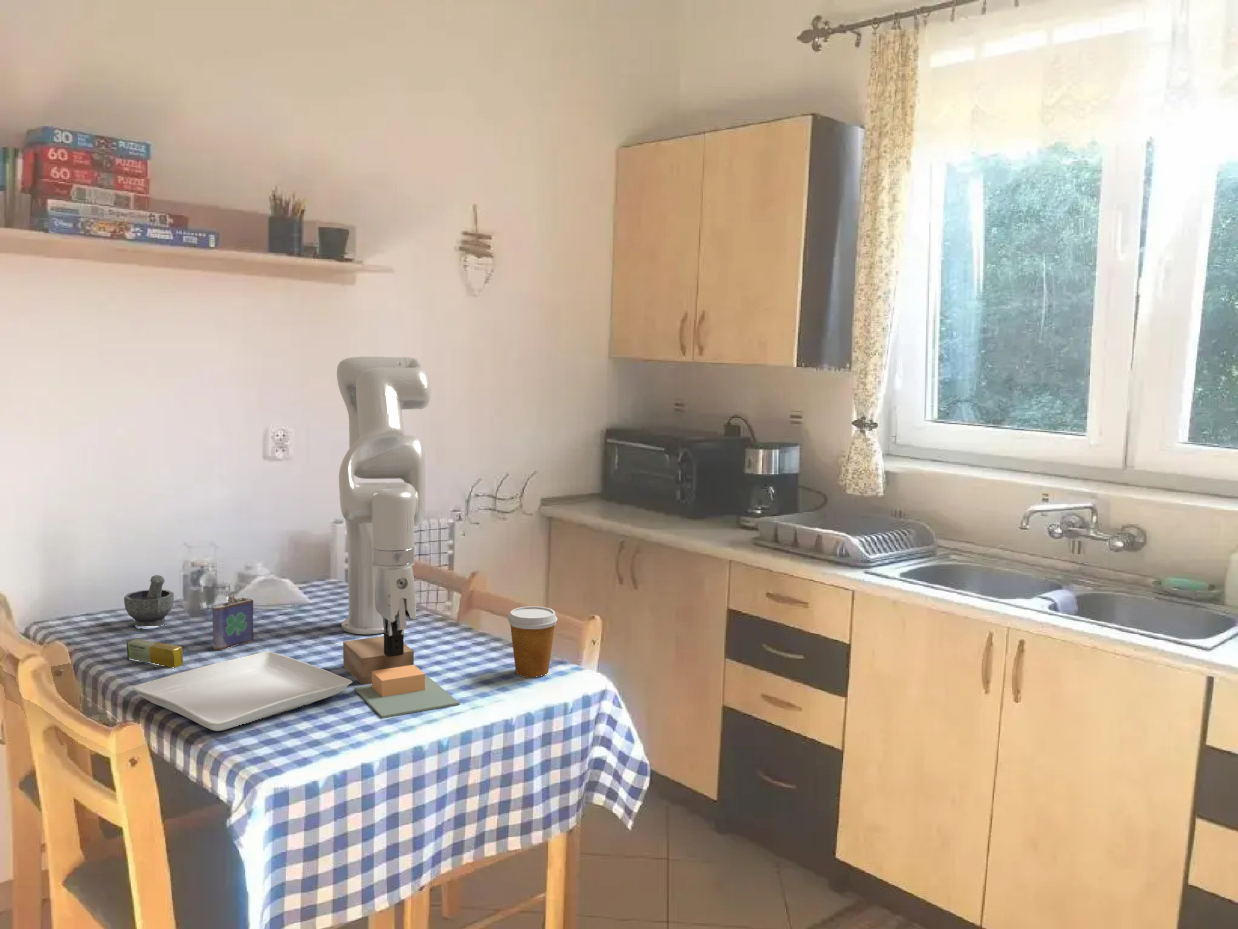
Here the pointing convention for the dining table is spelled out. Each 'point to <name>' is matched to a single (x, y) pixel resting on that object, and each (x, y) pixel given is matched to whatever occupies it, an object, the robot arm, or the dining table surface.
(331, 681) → the square plate
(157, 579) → the mortar and pestle
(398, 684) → the orange block
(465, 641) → the dining table surface
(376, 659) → the walnut block
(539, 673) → the disposable coffee cup
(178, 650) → the medication box
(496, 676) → the dining table surface
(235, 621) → the flask
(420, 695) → the rubber mat
